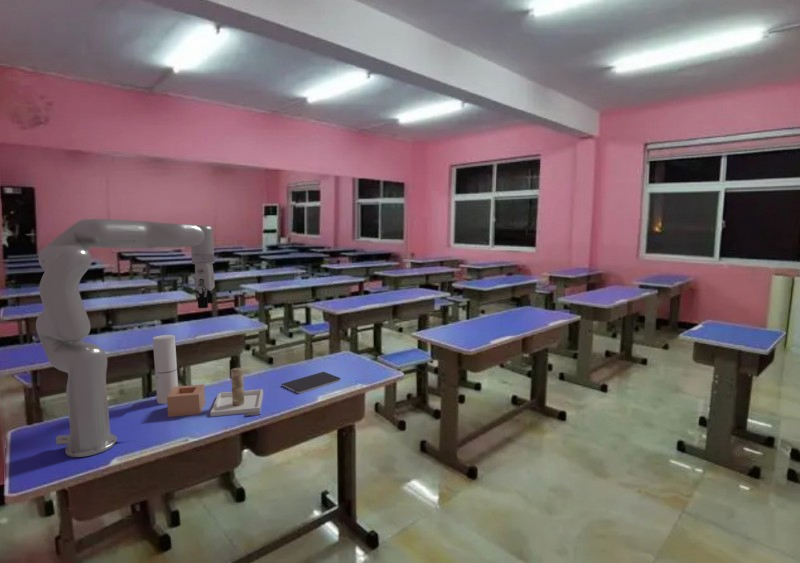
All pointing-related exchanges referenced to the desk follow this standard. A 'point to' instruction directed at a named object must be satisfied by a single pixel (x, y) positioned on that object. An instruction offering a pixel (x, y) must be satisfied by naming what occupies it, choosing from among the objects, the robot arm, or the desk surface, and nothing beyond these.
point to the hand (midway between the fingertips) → (205, 305)
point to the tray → (249, 407)
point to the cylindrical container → (165, 366)
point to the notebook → (311, 382)
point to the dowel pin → (237, 386)
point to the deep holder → (186, 400)
